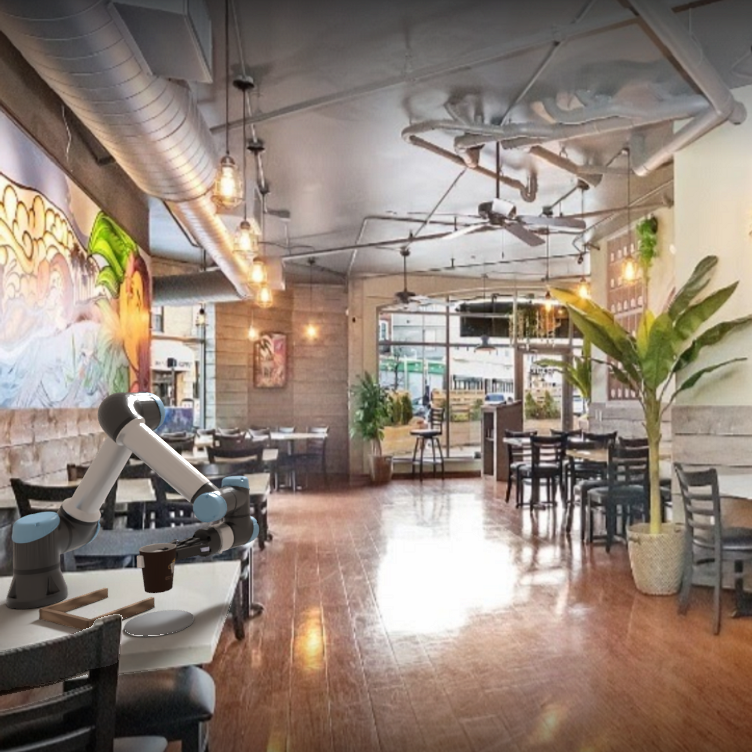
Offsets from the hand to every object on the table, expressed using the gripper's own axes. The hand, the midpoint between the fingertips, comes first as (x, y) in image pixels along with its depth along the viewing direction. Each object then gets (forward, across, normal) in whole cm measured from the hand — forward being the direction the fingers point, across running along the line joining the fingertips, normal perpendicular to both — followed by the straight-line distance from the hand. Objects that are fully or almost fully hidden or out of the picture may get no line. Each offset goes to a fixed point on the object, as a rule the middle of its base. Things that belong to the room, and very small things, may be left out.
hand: (139, 562), depth 151 cm
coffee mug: (-6, -1, -8) cm, 10 cm away
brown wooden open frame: (-5, +22, -16) cm, 28 cm away
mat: (-5, 0, -17) cm, 17 cm away
